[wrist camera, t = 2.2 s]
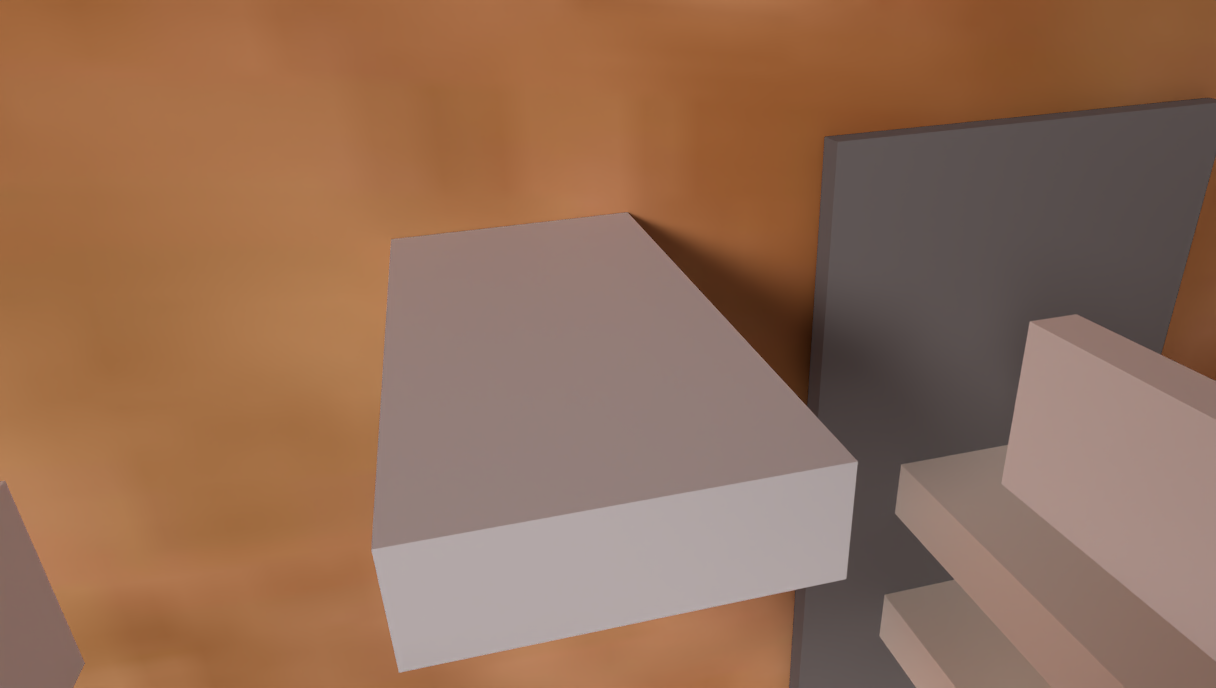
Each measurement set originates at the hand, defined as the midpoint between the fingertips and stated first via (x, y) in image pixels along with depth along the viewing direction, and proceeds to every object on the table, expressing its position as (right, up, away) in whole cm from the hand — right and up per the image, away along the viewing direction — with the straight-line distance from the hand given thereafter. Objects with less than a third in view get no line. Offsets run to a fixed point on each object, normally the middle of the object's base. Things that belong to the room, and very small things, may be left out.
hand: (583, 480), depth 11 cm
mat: (+11, -7, +15) cm, 20 cm away
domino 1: (-2, +4, +7) cm, 8 cm away
